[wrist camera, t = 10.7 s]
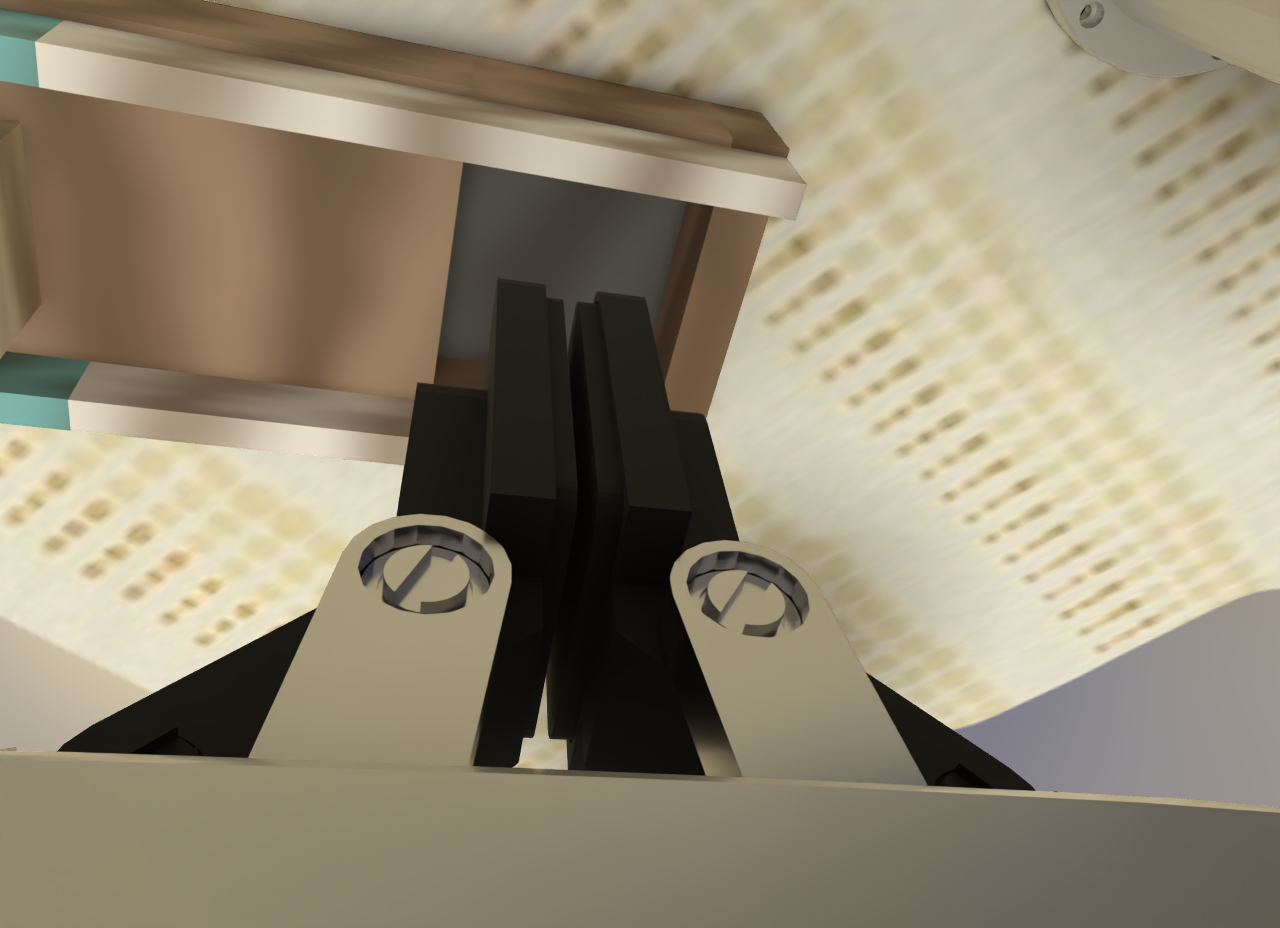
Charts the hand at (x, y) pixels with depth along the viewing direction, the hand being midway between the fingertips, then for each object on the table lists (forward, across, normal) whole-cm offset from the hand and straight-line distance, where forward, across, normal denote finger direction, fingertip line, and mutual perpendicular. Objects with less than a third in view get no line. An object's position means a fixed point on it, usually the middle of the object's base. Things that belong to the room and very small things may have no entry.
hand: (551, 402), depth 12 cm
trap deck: (+26, +7, +9) cm, 29 cm away
